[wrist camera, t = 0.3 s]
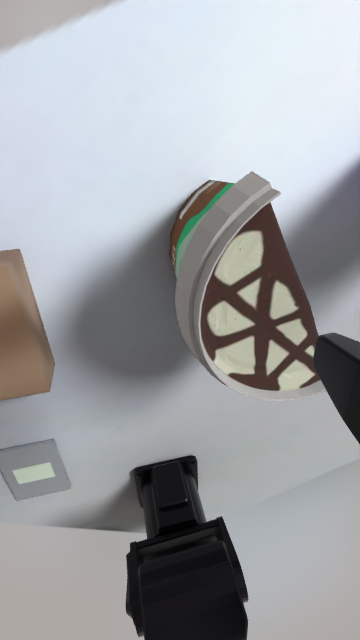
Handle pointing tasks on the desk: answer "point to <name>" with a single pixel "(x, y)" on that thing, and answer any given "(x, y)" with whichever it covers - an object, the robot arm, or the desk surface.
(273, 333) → the food container
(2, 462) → the card
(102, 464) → the desk surface
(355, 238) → the desk surface
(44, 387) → the walnut block
